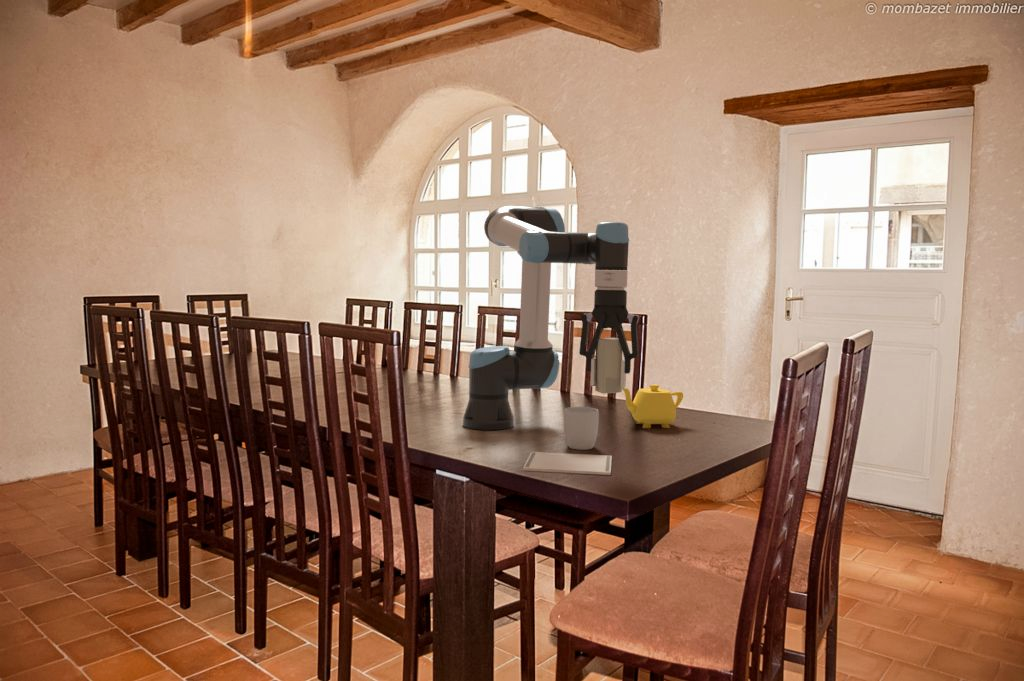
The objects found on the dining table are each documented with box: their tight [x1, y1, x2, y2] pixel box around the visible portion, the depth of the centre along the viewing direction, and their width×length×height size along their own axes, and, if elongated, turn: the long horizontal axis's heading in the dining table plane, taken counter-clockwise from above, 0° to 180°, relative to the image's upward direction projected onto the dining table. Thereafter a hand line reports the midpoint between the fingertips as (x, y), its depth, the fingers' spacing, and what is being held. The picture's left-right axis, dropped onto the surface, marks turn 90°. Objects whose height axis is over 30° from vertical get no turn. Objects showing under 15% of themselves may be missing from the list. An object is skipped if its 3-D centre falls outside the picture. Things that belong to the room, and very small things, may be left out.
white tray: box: [522, 451, 613, 476], centre depth 177 cm, size 16×20×1 cm
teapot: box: [622, 383, 684, 429], centre depth 225 cm, size 13×20×12 cm
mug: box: [563, 406, 600, 451], centre depth 196 cm, size 13×9×10 cm
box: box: [594, 337, 623, 395], centre depth 176 cm, size 5×4×13 cm
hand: (608, 386), depth 177 cm, fingers closed on box, 6 cm apart
